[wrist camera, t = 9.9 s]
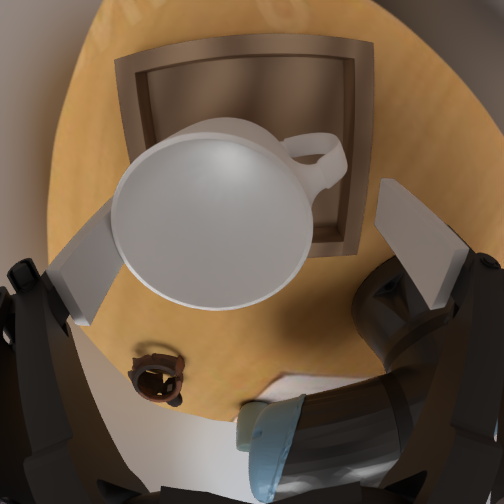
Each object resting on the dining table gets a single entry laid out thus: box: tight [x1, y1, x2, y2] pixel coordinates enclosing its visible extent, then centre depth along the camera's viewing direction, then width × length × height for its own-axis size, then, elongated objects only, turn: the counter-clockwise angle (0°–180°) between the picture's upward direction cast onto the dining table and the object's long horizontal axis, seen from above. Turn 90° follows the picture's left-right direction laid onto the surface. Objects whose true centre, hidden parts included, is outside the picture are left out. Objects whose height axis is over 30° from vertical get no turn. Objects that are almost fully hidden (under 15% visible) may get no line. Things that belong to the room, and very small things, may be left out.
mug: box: [111, 117, 347, 310], centre depth 16 cm, size 12×9×12 cm
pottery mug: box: [128, 353, 185, 407], centre depth 39 cm, size 12×10×8 cm
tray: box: [114, 34, 374, 258], centre depth 20 cm, size 18×18×4 cm
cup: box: [236, 402, 268, 452], centre depth 46 cm, size 8×8×10 cm
